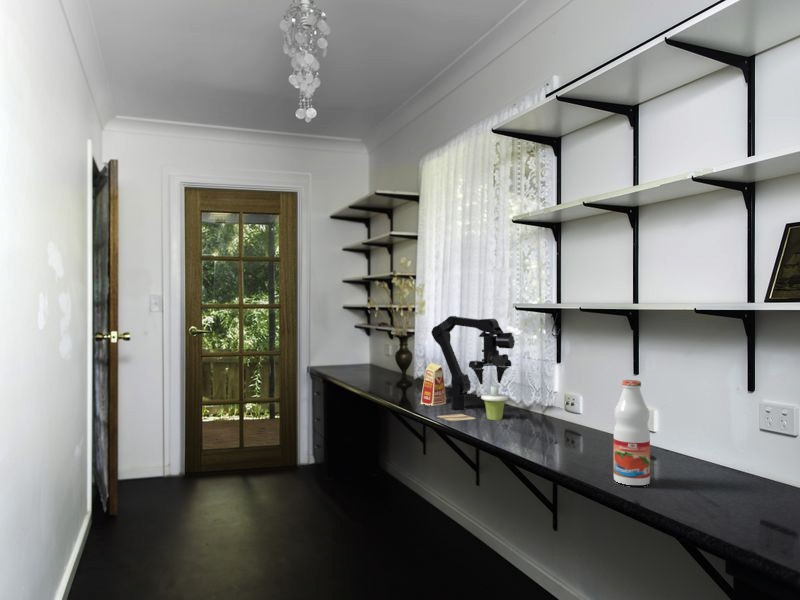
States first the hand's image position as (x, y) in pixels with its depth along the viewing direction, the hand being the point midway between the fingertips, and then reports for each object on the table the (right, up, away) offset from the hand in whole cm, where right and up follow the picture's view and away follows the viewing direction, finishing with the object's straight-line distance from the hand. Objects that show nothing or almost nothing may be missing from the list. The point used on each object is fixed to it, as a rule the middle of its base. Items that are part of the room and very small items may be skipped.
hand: (490, 383), depth 275 cm
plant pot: (0, -13, -13) cm, 19 cm away
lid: (0, -5, -13) cm, 14 cm away
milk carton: (-23, -13, +25) cm, 36 cm away
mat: (-16, -13, -11) cm, 23 cm away
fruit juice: (+25, -14, -100) cm, 104 cm away
